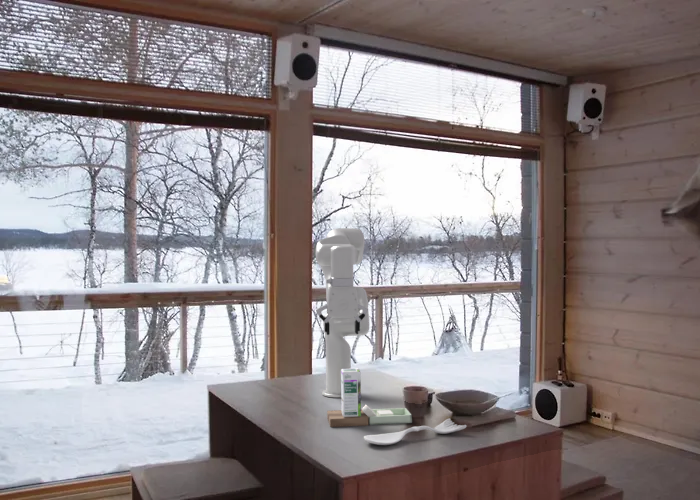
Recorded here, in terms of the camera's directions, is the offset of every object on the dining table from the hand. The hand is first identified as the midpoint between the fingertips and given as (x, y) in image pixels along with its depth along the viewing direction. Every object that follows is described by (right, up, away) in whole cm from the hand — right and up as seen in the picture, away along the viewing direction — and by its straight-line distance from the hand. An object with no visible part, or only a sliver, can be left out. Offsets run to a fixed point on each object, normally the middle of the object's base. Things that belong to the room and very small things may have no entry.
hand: (342, 333), depth 211 cm
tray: (+15, -27, -7) cm, 32 cm away
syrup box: (+3, -25, -10) cm, 27 cm away
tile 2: (+14, -25, -6) cm, 29 cm away
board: (+2, -27, -8) cm, 28 cm away
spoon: (+21, -28, -26) cm, 43 cm away
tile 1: (+8, -25, -9) cm, 28 cm away
